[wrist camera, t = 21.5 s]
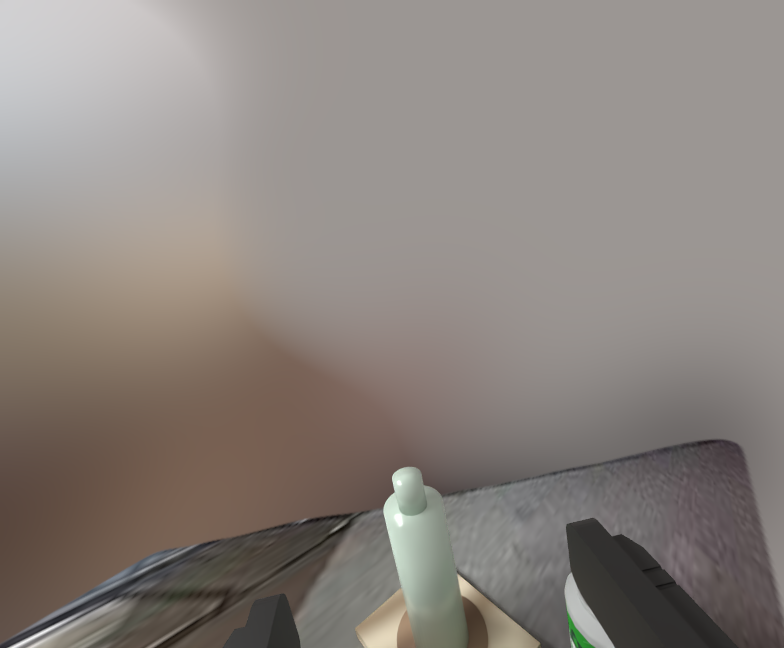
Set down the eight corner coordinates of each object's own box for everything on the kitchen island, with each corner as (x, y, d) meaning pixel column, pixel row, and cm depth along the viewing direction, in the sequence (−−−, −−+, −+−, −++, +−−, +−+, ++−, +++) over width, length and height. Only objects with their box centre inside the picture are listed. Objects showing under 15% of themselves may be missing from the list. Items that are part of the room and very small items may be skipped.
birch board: (357, 637, 38) (354, 627, 38) (438, 564, 45) (436, 555, 45) (452, 778, 27) (449, 765, 27) (541, 653, 34) (540, 641, 33)
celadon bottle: (403, 635, 36) (365, 479, 33) (441, 597, 39) (410, 451, 36) (440, 681, 32) (401, 507, 28) (480, 635, 35) (449, 472, 31)
